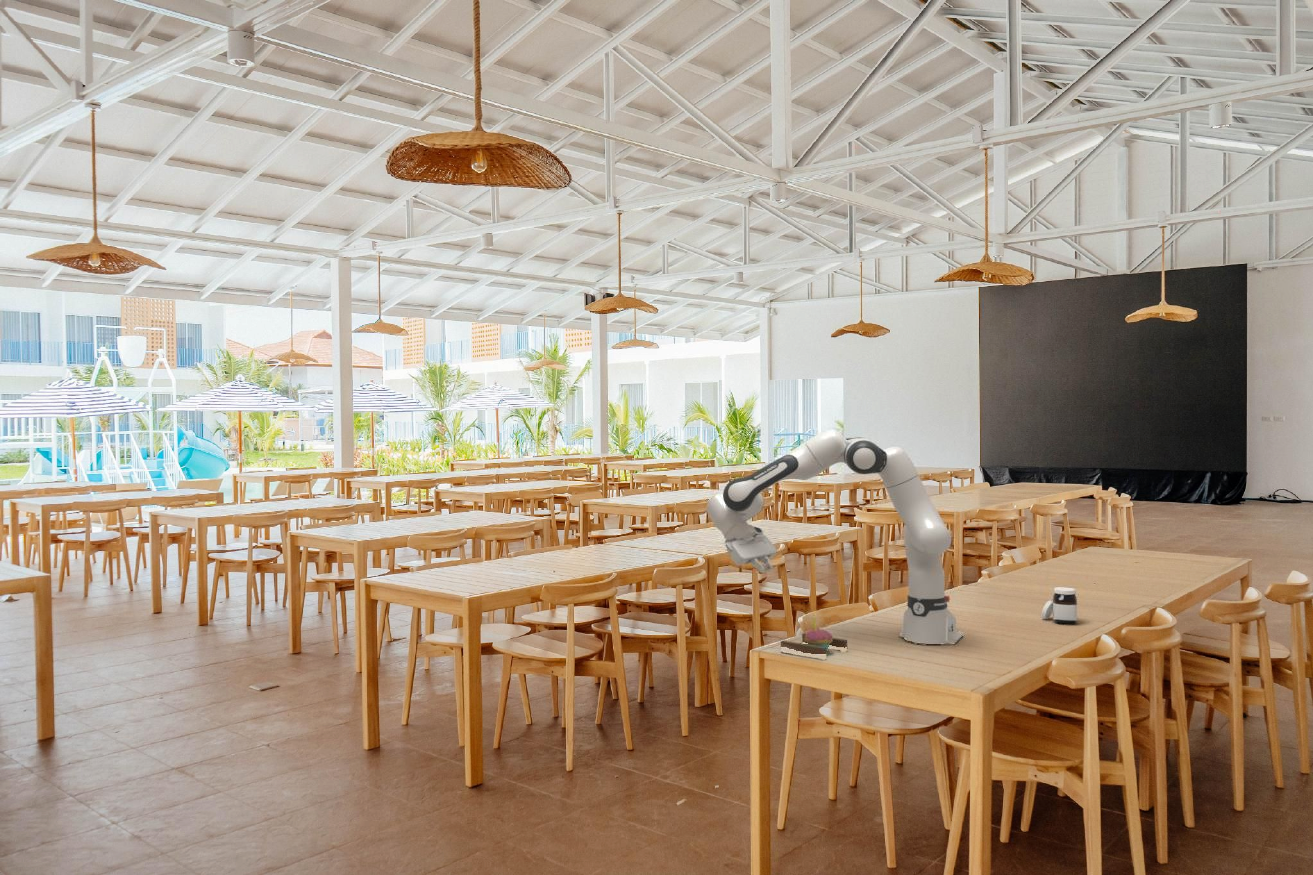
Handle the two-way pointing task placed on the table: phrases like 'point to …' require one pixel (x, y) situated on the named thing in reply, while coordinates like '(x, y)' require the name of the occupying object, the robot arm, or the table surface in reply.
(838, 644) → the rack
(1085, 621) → the table surface
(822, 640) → the cupcake
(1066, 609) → the spread jar
